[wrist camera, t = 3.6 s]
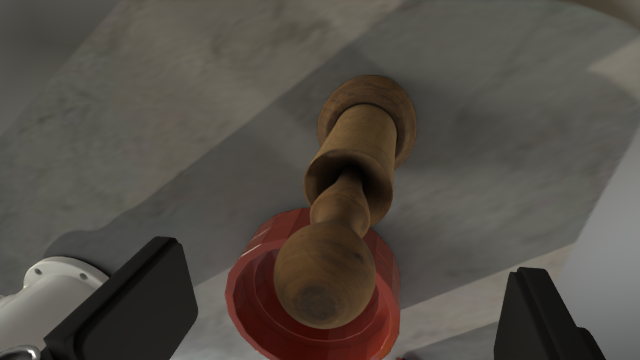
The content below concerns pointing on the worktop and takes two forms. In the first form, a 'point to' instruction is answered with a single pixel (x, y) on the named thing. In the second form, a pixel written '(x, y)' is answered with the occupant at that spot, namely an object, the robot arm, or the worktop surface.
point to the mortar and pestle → (345, 202)
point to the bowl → (287, 333)
